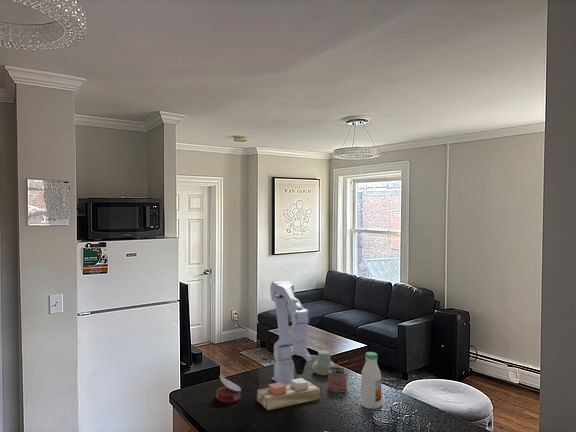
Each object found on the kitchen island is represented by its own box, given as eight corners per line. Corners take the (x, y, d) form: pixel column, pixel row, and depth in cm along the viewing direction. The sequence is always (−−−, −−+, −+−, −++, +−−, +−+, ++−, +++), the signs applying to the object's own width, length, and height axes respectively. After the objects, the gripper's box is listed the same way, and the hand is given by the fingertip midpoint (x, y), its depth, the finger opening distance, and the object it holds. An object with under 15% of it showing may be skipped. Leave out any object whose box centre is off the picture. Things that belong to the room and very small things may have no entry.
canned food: (224, 404, 174) (229, 378, 178) (244, 406, 169) (249, 380, 174) (207, 399, 165) (213, 373, 170) (228, 402, 160) (233, 374, 165)
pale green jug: (336, 371, 200) (336, 350, 200) (334, 377, 192) (334, 355, 192) (313, 369, 203) (314, 348, 203) (310, 375, 195) (311, 353, 195)
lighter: (346, 389, 179) (347, 365, 179) (347, 392, 176) (347, 368, 176) (327, 388, 180) (327, 364, 180) (327, 391, 177) (327, 367, 177)
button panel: (256, 400, 166) (256, 390, 166) (306, 389, 178) (306, 380, 178) (267, 410, 158) (268, 399, 158) (319, 398, 169) (319, 388, 169)
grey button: (290, 387, 171) (291, 379, 171) (301, 385, 174) (301, 377, 174) (297, 391, 167) (297, 384, 167) (307, 389, 169) (308, 382, 169)
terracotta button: (268, 391, 166) (268, 384, 166) (280, 389, 169) (280, 382, 169) (274, 396, 162) (274, 388, 162) (286, 394, 164) (286, 386, 164)
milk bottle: (369, 411, 158) (369, 357, 159) (356, 403, 165) (357, 351, 166) (385, 407, 162) (385, 354, 162) (372, 399, 169) (372, 349, 169)
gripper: (282, 336, 175) (282, 369, 175) (300, 345, 162) (300, 381, 162) (297, 334, 178) (297, 367, 178) (316, 343, 166) (315, 378, 165)
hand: (299, 373), depth 170 cm, fingers closed
